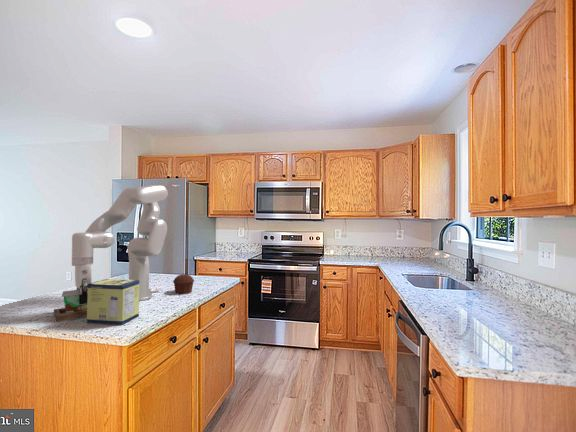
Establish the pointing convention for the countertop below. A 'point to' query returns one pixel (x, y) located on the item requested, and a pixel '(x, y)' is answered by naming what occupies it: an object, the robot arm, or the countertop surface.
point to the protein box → (113, 301)
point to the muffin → (183, 284)
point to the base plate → (68, 314)
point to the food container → (73, 301)
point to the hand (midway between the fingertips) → (82, 301)
